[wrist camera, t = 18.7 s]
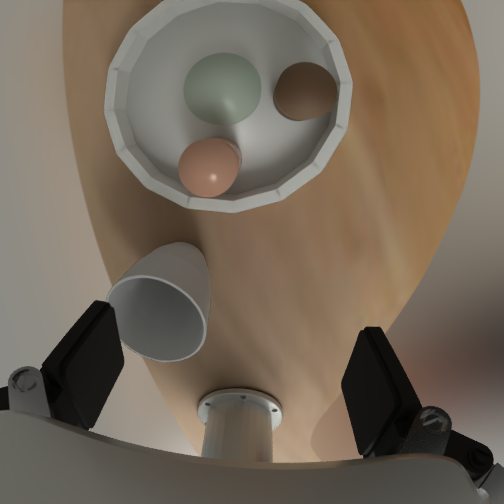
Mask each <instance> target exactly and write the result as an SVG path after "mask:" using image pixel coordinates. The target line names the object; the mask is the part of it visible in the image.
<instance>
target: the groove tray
mask: <svg viewBox="0 0 504 504" xmlns="http://www.w3.org/2000/svg"><path fill="white" fill-rule="evenodd" d="M299 62H311V63H315V64H318V65H320V66H322V67H323V68H325V69H326V70H327V71H328V72H329V73H330V74H331V75H332V76H333V78H334V80H335V82H336V85H337V91H338V94H337V100H336V103H335V105H334V106H333V108H332V109H331V110H330V111H329V112H328V113H327V114H325V115H323V116H321V117H318V118H314V119H309V120H303V121H292V120H289V119H287V118H285V117H283V116H282V115H281V114H280V113H279V112H278V111H277V110H276V108H275V106H274V103H273V93H274V90H275V87H276V85H277V82H278V79H279V77H280V75H281V74H282V72H283V71H284V70H285V69H286V68H288V67H289V66H291V65H293V64H295V63H299ZM109 68H110V69H108V75H107V83H106V92H105V102H104V115H105V118H106V122H107V125H108V128H109V132H110V135H111V138H112V141H113V144H114V148H115V151H116V153H117V155H118V156H119V157H120V158H121V160H122V161H123V162H124V163H125V164H126V166H127V167H128V168H129V169H130V170H131V171H132V173H133V174H134V175H135V176H136V177H137V178H138V180H139V181H140V182H141V183H142V184H143V185H144V187H146V188H147V189H149V190H151V191H153V192H155V193H157V194H159V195H161V196H163V197H165V198H167V199H169V200H171V201H173V202H175V203H177V204H179V205H181V206H183V207H184V208H187V209H197V210H207V211H217V212H227V213H234V212H235V213H237V212H241V211H245V210H248V209H252V208H256V207H259V206H263V205H267V204H271V203H274V202H278V201H282V200H283V199H285V198H286V197H288V196H289V195H290V194H292V193H293V192H294V191H296V190H297V189H298V188H300V187H301V186H303V185H304V184H305V183H307V182H308V181H309V180H311V179H312V178H314V177H315V176H316V175H318V174H319V173H320V172H322V171H323V169H324V167H325V166H326V164H327V162H328V161H329V159H330V158H331V156H332V154H333V153H334V151H335V149H336V148H337V146H338V144H339V143H340V141H341V139H342V138H343V136H344V135H345V133H346V131H347V128H348V121H349V113H350V105H351V97H352V88H353V84H352V83H353V81H352V78H351V75H350V72H349V68H348V65H347V62H346V59H345V56H344V53H343V50H342V47H341V44H340V42H339V39H338V38H337V37H336V35H335V34H334V33H333V32H332V31H331V30H330V29H329V27H328V26H327V25H326V24H325V23H324V22H323V21H322V20H321V19H320V18H319V17H318V16H317V14H316V13H315V12H314V11H313V10H312V9H311V8H310V7H309V6H308V5H307V4H305V3H303V2H301V1H299V0H164V1H162V2H161V3H160V4H158V5H157V6H156V7H155V8H153V9H152V10H151V11H150V12H149V13H147V14H146V15H145V16H144V17H143V18H141V19H140V20H139V21H138V22H137V23H136V24H135V25H133V26H132V27H131V29H130V30H129V31H128V33H127V35H126V36H125V38H124V40H123V42H122V43H121V45H120V47H119V49H118V51H117V53H116V54H115V56H114V58H113V60H112V62H111V64H110V66H109ZM213 137H225V138H228V139H230V140H232V141H233V142H235V143H236V144H237V146H238V147H239V149H240V151H241V154H242V165H241V168H240V170H239V172H238V174H237V176H236V178H235V180H234V182H233V184H232V185H231V186H230V188H229V189H228V190H227V191H225V192H224V193H222V194H220V195H218V196H215V197H201V196H197V195H195V194H193V193H191V192H190V191H189V190H188V189H187V188H186V187H185V186H184V185H183V183H182V182H181V179H180V177H179V172H178V164H179V160H180V157H181V155H182V153H183V152H184V150H185V149H186V148H187V147H188V146H189V145H190V144H192V143H194V142H196V141H198V140H202V139H207V138H213ZM321 170H322V171H321ZM281 199H282V200H281Z"/></svg>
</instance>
